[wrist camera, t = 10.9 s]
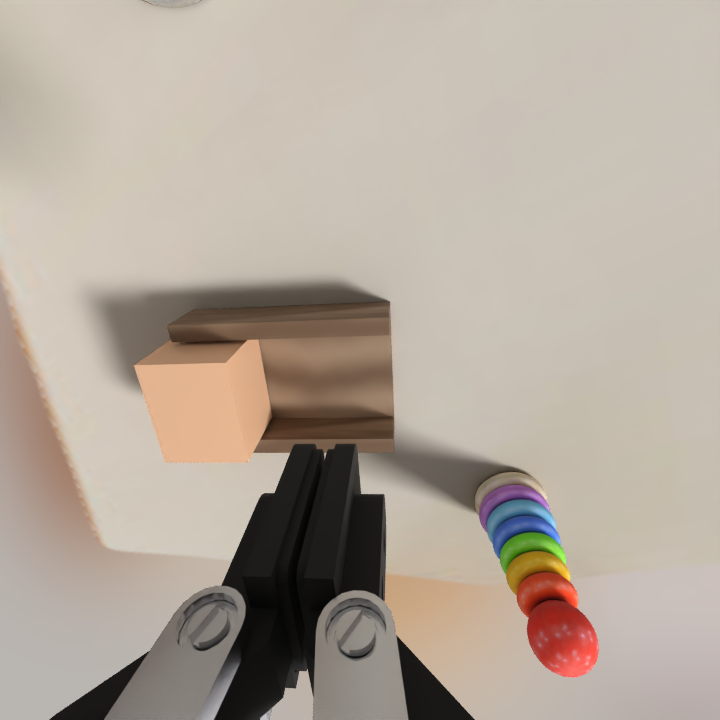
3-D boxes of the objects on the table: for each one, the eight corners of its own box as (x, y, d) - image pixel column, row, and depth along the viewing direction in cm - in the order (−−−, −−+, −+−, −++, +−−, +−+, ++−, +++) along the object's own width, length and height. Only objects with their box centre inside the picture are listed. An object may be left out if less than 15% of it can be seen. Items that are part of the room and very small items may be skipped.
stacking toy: (549, 512, 47) (635, 699, 30) (482, 526, 49) (527, 710, 32) (536, 461, 44) (622, 635, 27) (465, 477, 46) (505, 650, 29)
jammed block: (180, 333, 40) (133, 365, 33) (256, 330, 39) (225, 362, 32) (202, 417, 44) (165, 462, 37) (272, 416, 43) (247, 462, 36)
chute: (193, 309, 41) (167, 325, 36) (389, 301, 38) (388, 317, 34) (221, 426, 46) (202, 452, 42) (394, 424, 44) (394, 452, 40)
